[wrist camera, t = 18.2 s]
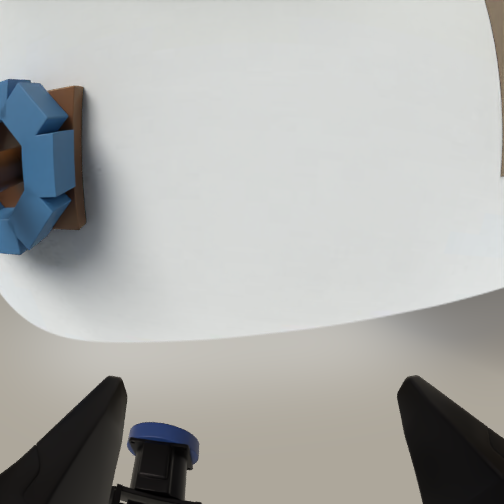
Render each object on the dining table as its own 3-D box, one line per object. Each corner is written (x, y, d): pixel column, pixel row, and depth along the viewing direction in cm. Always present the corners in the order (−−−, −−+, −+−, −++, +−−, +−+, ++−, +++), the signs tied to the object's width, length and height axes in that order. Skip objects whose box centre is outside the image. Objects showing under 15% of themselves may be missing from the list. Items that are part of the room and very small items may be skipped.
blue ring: (81, 242, 17) (65, 259, 15) (-22, 237, 16) (-40, 249, 14) (77, 69, 13) (56, 65, 11) (-33, 101, 12) (-54, 104, 10)
